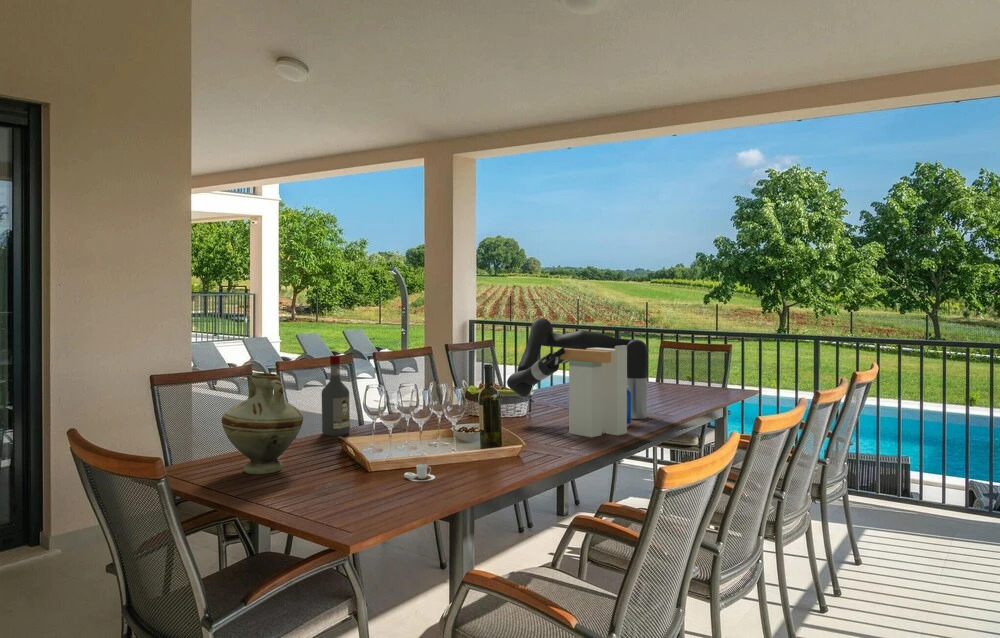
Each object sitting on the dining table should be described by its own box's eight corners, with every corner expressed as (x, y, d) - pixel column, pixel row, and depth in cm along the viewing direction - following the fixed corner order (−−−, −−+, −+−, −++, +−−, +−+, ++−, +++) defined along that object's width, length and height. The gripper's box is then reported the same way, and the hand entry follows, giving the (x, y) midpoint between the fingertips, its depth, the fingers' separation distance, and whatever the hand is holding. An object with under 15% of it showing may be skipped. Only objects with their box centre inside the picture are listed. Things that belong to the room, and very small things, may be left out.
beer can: (630, 424, 295) (630, 384, 294) (631, 427, 287) (631, 387, 286) (609, 423, 296) (609, 384, 295) (610, 427, 287) (610, 387, 287)
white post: (586, 430, 282) (586, 344, 281) (595, 428, 287) (595, 343, 285) (617, 435, 272) (617, 346, 270) (626, 433, 276) (626, 345, 274)
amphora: (289, 482, 210) (299, 379, 211) (205, 477, 208) (215, 373, 209) (304, 467, 233) (313, 374, 234) (229, 461, 232) (238, 368, 232)
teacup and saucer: (400, 481, 210) (400, 467, 210) (414, 474, 217) (413, 461, 217) (427, 483, 206) (427, 469, 206) (440, 477, 214) (439, 463, 214)
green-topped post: (569, 433, 276) (569, 360, 275) (579, 431, 280) (579, 359, 279) (591, 437, 268) (591, 362, 267) (601, 435, 272) (601, 361, 271)
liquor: (318, 434, 276) (317, 356, 275) (334, 430, 284) (333, 354, 283) (337, 436, 272) (336, 357, 271) (353, 432, 280) (352, 355, 279)
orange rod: (560, 359, 280) (560, 348, 280) (566, 358, 282) (566, 348, 282) (605, 363, 264) (605, 352, 264) (611, 362, 266) (611, 351, 266)
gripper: (528, 360, 285) (555, 341, 274) (553, 357, 295) (579, 339, 284) (535, 377, 282) (562, 359, 272) (560, 374, 292) (587, 356, 282)
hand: (571, 349), depth 278 cm, fingers open, 8 cm apart
